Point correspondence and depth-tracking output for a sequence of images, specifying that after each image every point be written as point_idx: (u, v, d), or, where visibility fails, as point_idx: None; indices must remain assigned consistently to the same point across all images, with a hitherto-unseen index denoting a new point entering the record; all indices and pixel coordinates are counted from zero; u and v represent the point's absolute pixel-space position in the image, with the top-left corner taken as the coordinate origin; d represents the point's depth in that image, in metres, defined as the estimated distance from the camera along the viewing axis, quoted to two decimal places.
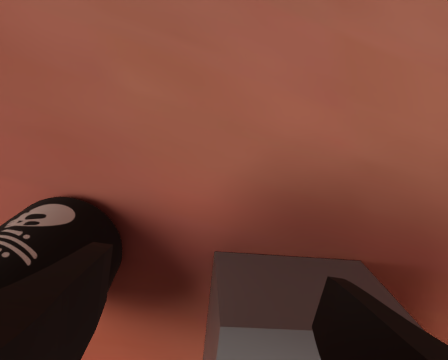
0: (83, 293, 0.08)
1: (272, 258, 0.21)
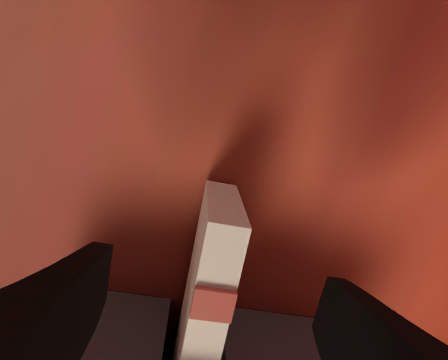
0: (83, 293, 0.08)
1: None
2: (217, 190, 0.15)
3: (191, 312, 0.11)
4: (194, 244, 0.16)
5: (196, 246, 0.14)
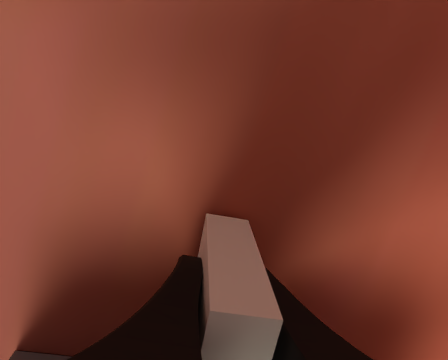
0: None
1: None
2: (223, 231, 0.10)
3: None
4: None
5: None
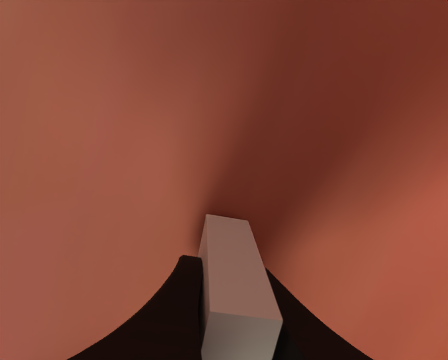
0: None
1: None
2: (223, 232, 0.10)
3: None
4: None
5: None
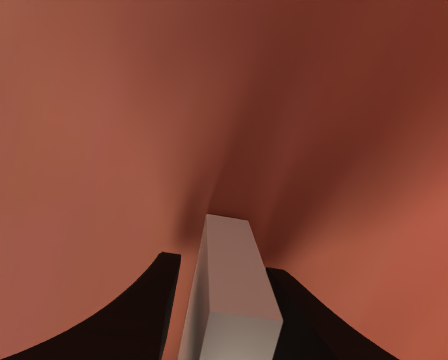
0: (169, 304, 0.08)
1: None
2: (222, 232, 0.10)
3: None
4: (190, 301, 0.12)
5: (192, 314, 0.10)
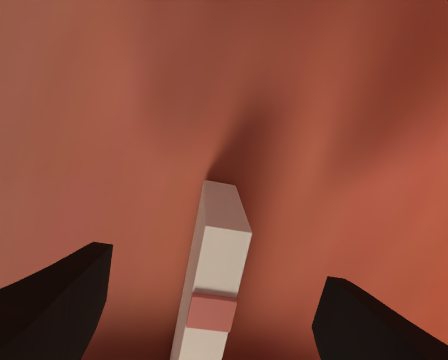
0: (83, 293, 0.08)
1: None
2: (216, 190, 0.14)
3: (188, 320, 0.11)
4: (191, 246, 0.16)
5: (193, 249, 0.14)
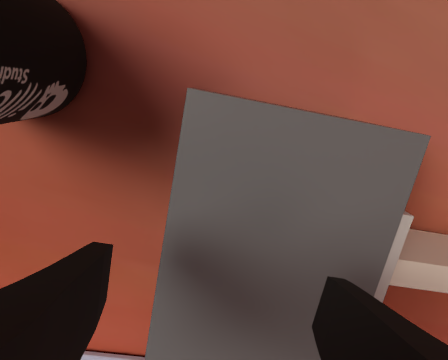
0: (83, 293, 0.08)
1: None
2: None
3: None
4: None
5: None
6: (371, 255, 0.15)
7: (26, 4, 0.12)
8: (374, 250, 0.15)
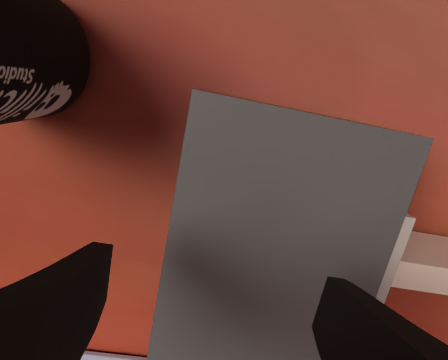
0: (83, 293, 0.08)
1: None
2: None
3: None
4: None
5: None
6: (374, 256, 0.15)
7: (32, 4, 0.12)
8: (376, 252, 0.15)
